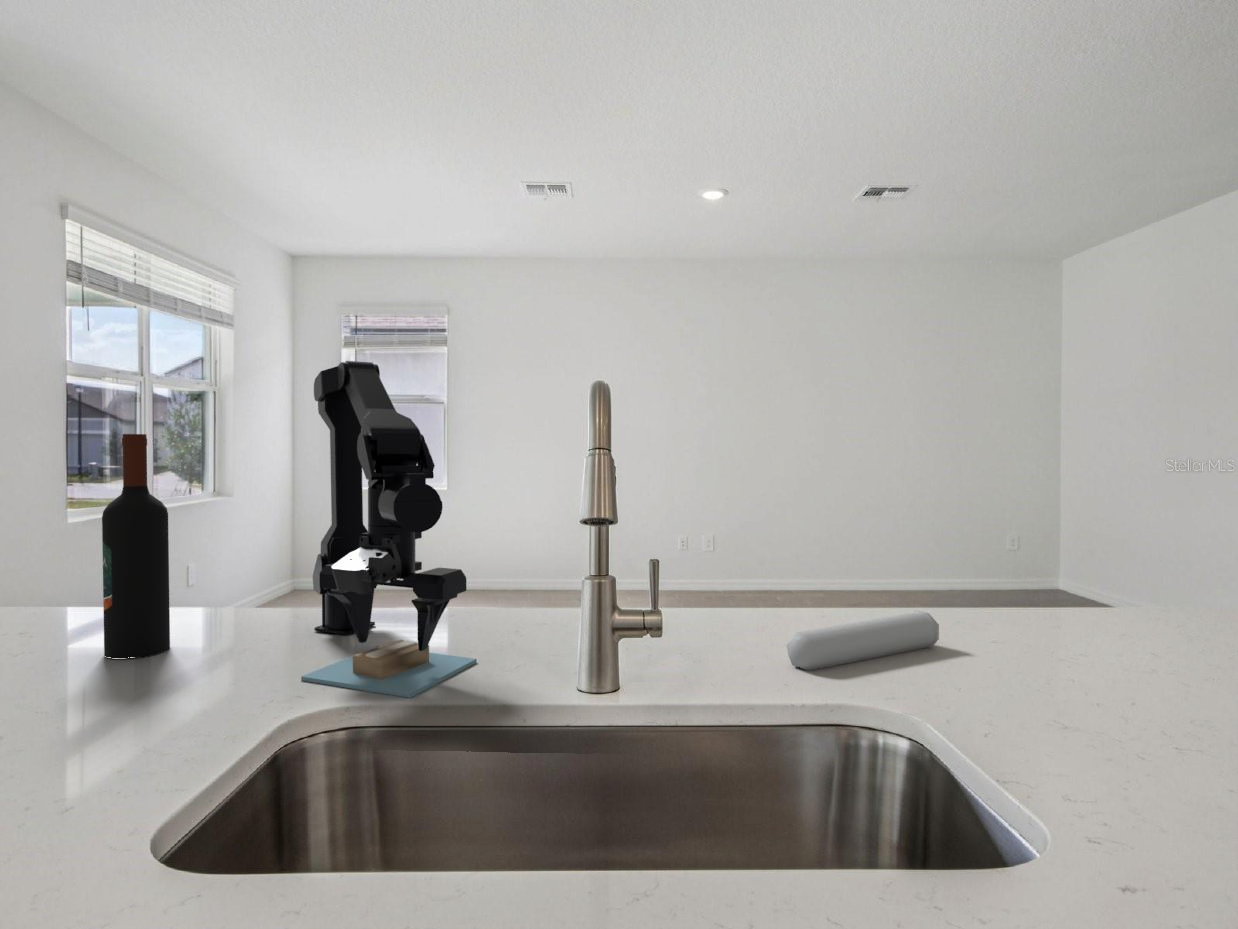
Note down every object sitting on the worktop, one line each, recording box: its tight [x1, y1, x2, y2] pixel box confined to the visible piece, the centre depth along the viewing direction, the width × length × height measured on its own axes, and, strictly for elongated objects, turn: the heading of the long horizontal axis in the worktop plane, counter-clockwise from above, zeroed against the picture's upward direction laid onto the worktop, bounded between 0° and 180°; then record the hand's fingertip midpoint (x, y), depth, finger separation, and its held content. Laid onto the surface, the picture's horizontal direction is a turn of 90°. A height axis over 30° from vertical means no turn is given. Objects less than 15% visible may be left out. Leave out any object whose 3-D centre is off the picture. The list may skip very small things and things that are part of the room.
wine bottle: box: [101, 433, 171, 658], centre depth 98 cm, size 8×8×30 cm
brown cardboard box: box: [352, 639, 430, 680], centre depth 90 cm, size 8×5×2 cm, turn 151°
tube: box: [786, 609, 940, 671], centre depth 98 cm, size 5×5×25 cm
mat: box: [300, 645, 477, 699], centre depth 90 cm, size 16×14×1 cm
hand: (392, 646), depth 90 cm, fingers open, 9 cm apart
